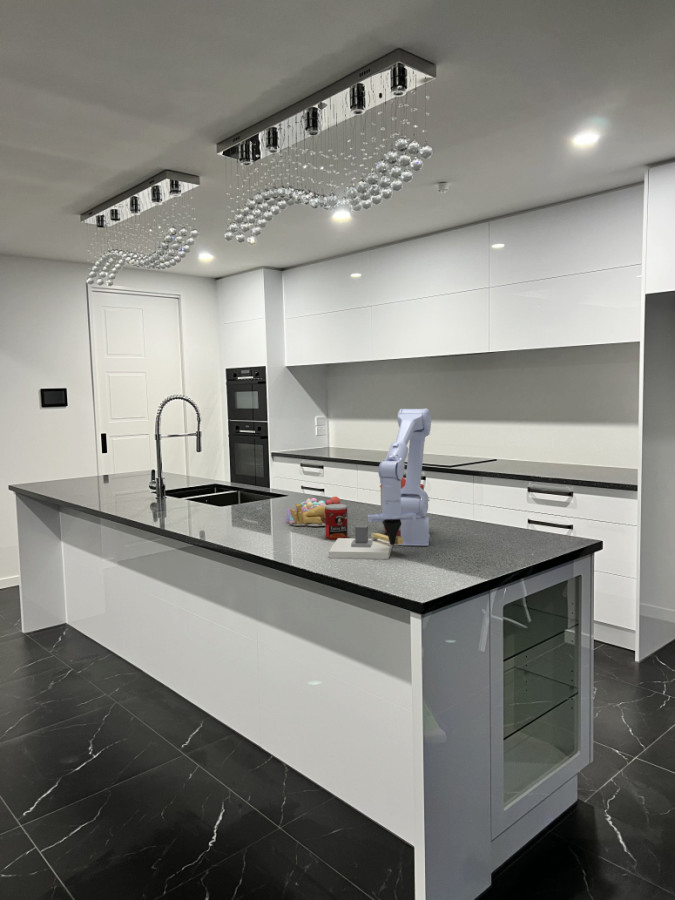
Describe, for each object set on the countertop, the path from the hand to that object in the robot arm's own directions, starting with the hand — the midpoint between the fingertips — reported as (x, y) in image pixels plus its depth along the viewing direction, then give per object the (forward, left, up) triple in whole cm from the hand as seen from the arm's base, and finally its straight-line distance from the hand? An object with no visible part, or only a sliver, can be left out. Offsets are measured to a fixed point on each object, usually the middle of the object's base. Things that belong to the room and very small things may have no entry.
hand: (392, 544), depth 204 cm
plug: (+10, -4, -3) cm, 11 cm away
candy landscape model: (+33, -52, -4) cm, 61 cm away
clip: (+2, -6, -1) cm, 7 cm away
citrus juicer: (-2, -31, -4) cm, 32 cm away
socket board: (+10, -4, -3) cm, 11 cm away
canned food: (+21, -23, -4) cm, 31 cm away
